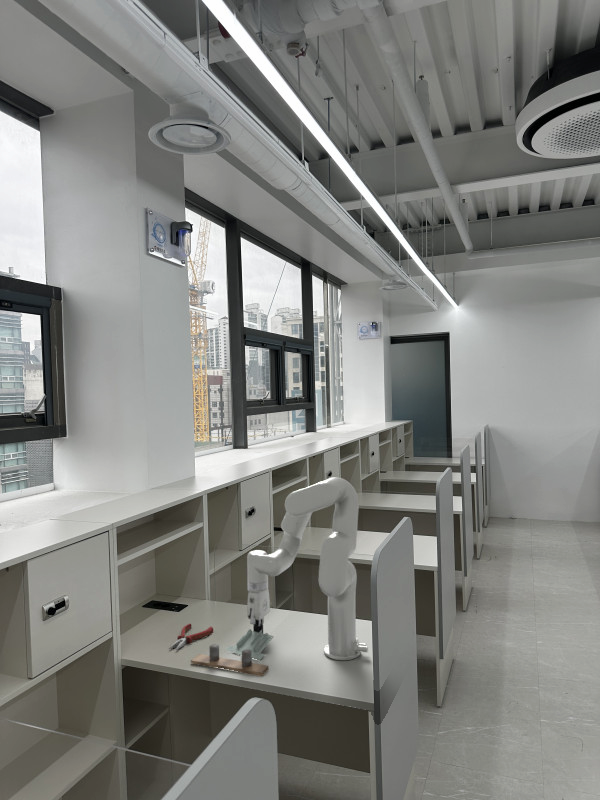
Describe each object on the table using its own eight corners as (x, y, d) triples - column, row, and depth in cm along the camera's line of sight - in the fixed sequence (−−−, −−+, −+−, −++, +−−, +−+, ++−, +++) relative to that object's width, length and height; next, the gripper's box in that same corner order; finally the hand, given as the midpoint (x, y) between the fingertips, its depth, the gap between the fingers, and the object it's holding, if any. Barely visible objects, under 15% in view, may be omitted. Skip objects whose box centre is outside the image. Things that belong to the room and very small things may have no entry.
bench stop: (268, 669, 180) (268, 652, 181) (262, 676, 176) (261, 659, 176) (199, 657, 190) (198, 641, 190) (191, 663, 185) (190, 647, 185)
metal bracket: (244, 623, 205) (278, 631, 197) (247, 637, 206) (281, 645, 199) (221, 648, 193) (256, 658, 185) (224, 663, 194) (260, 673, 187)
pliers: (158, 650, 197) (158, 643, 197) (188, 628, 216) (188, 622, 216) (186, 655, 193) (186, 647, 193) (214, 632, 212) (214, 625, 212)
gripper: (258, 593, 196) (258, 645, 196) (275, 580, 210) (276, 629, 209) (239, 590, 199) (239, 642, 198) (257, 578, 212) (258, 626, 212)
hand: (258, 635), depth 204 cm, fingers closed
